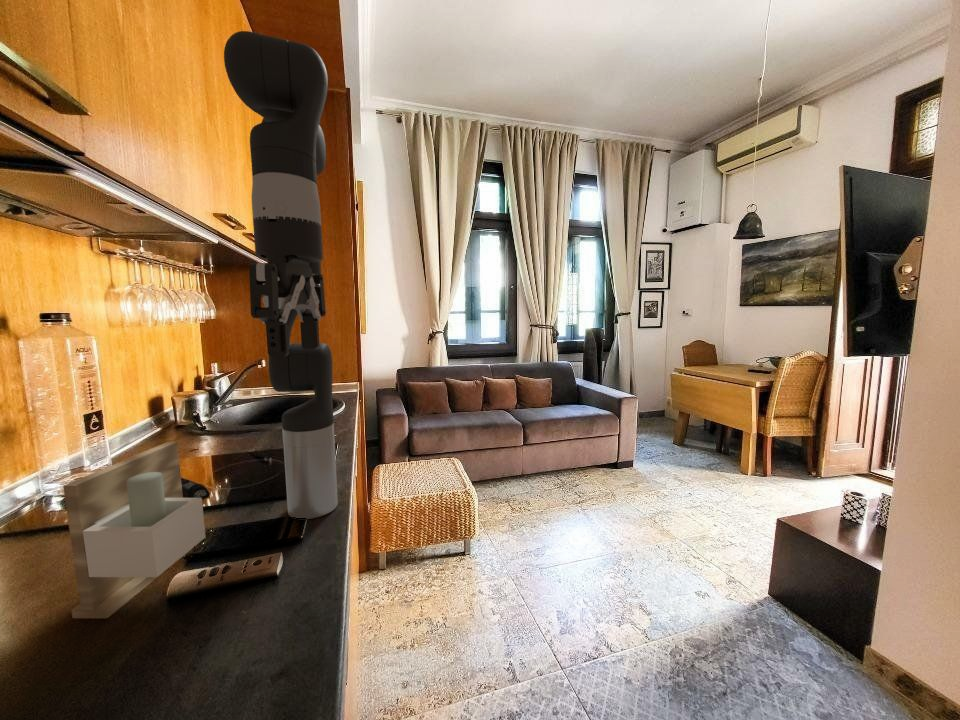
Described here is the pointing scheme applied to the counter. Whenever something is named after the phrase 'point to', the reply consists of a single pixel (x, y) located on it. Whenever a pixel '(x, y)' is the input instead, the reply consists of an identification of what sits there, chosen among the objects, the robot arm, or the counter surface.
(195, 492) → the electric trimmer
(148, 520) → the pale green rounded cylinder
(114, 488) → the oak board
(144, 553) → the grey open box
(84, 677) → the counter surface
